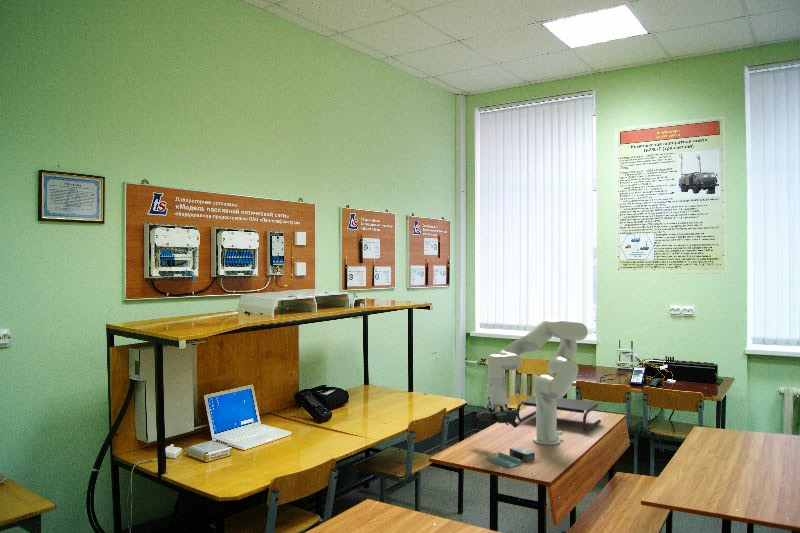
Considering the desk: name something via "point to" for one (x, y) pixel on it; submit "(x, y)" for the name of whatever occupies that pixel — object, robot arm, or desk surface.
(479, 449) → the desk surface
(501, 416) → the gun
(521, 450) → the block
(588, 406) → the monitor stand
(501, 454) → the cradle tray
